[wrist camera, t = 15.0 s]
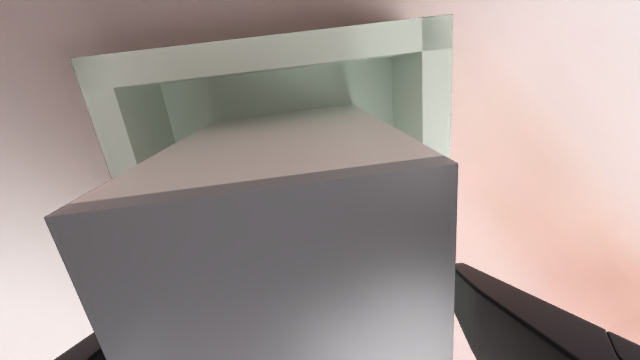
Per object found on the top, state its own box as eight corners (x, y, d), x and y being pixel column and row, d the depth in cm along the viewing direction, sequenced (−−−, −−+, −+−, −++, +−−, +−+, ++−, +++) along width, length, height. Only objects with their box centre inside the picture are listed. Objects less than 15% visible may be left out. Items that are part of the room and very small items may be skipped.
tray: (408, 31, 11) (452, 13, 8) (413, 330, 16) (444, 398, 12) (137, 62, 11) (69, 57, 8) (220, 357, 16) (199, 434, 12)
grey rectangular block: (352, 103, 11) (457, 163, 4) (368, 306, 14) (447, 566, 7) (214, 121, 11) (43, 218, 4) (258, 321, 14) (213, 602, 7)
